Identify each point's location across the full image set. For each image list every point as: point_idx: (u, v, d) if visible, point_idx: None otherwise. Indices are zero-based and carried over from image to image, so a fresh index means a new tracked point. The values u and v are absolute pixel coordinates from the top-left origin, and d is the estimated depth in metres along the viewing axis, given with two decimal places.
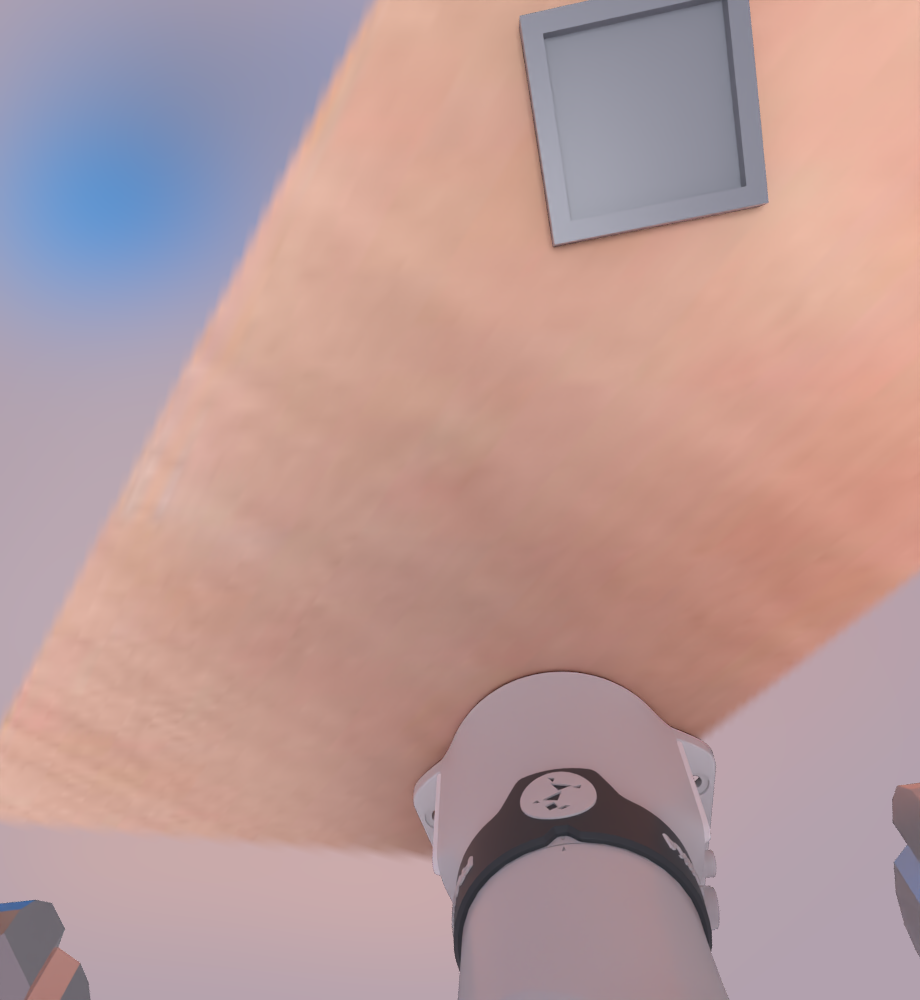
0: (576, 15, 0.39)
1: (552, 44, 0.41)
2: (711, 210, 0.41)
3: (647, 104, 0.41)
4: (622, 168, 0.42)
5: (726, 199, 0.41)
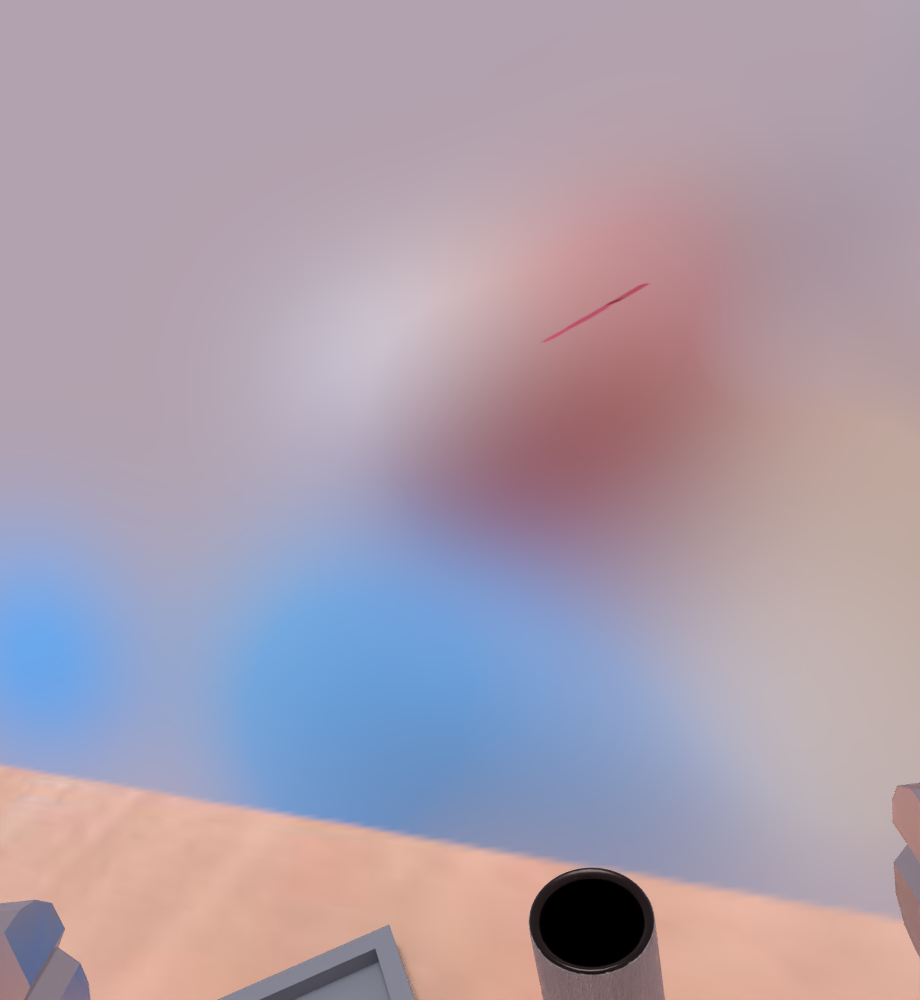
0: (393, 972, 0.38)
1: (374, 971, 0.39)
2: None
3: None
4: None
5: None
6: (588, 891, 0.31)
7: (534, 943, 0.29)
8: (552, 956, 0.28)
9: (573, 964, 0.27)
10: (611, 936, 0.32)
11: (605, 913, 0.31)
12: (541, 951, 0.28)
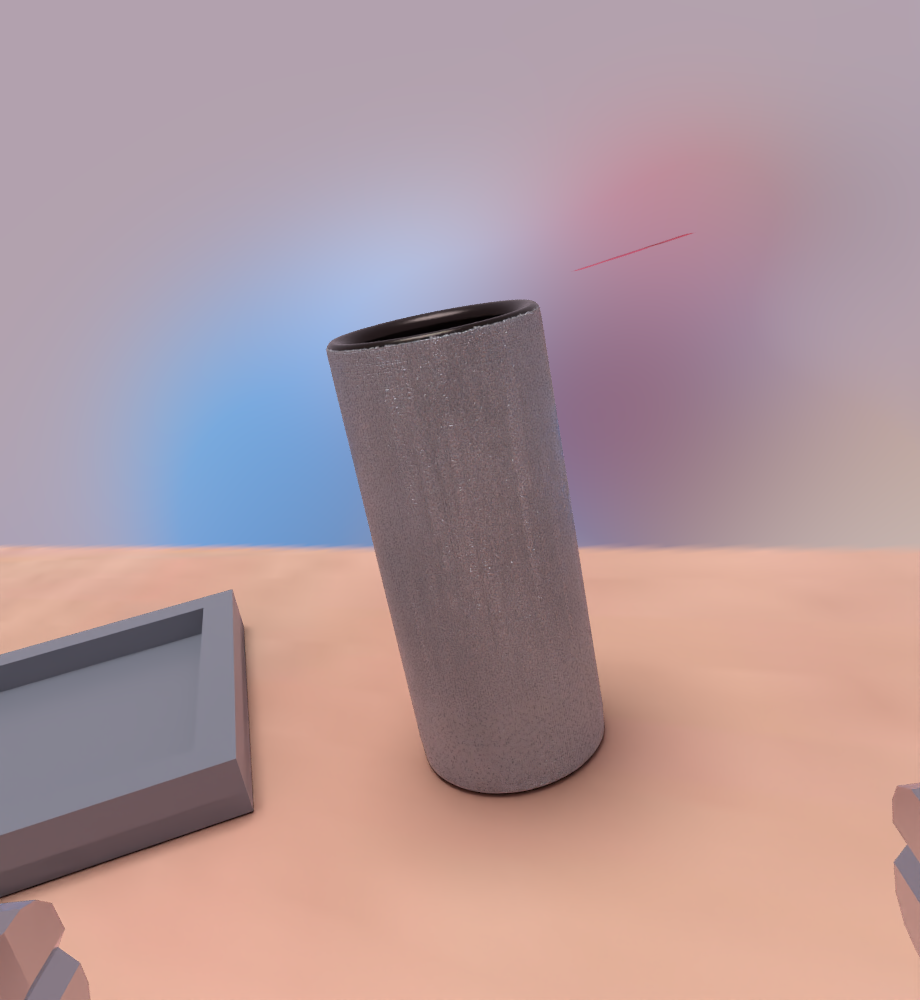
0: (216, 623, 0.26)
1: (200, 638, 0.27)
2: None
3: (64, 741, 0.23)
4: None
5: None
6: None
7: (327, 350, 0.16)
8: (347, 344, 0.16)
9: None
10: None
11: None
12: (332, 348, 0.16)
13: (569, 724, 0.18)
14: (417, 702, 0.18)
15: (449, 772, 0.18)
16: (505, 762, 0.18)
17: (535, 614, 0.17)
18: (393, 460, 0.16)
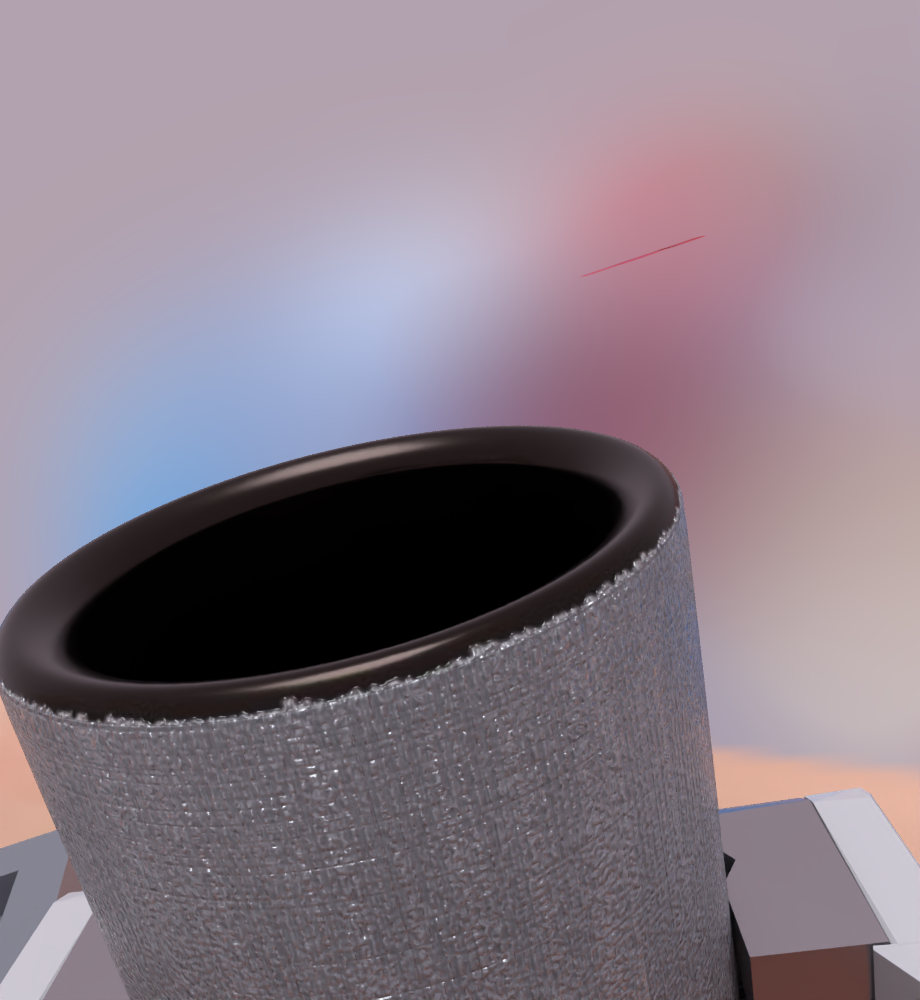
0: (22, 925, 0.15)
1: None
2: None
3: None
4: None
5: None
6: (413, 528, 0.07)
7: None
8: (21, 649, 0.04)
9: (103, 675, 0.04)
10: None
11: None
12: None
13: None
14: None
15: None
16: None
17: None
18: None
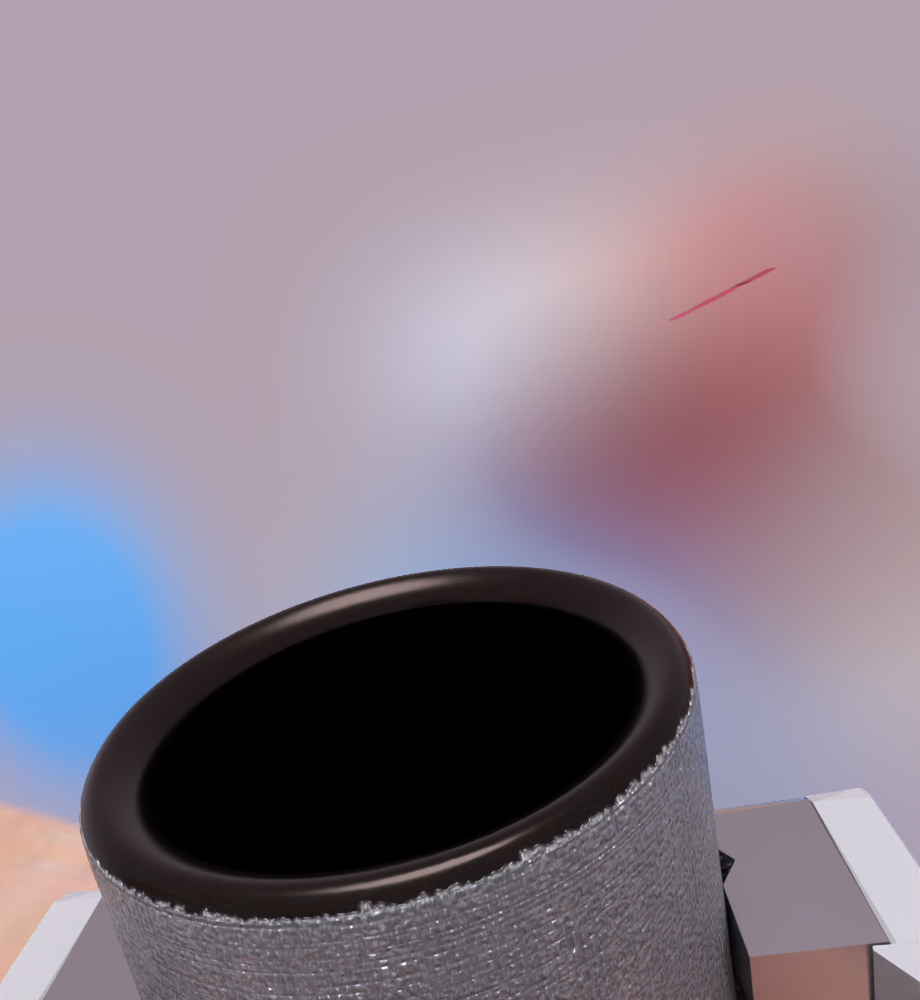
0: None
1: None
2: None
3: None
4: None
5: None
6: (441, 658, 0.08)
7: None
8: (112, 826, 0.05)
9: (193, 863, 0.04)
10: None
11: (511, 755, 0.08)
12: (83, 811, 0.05)
13: None
14: None
15: None
16: None
17: None
18: None
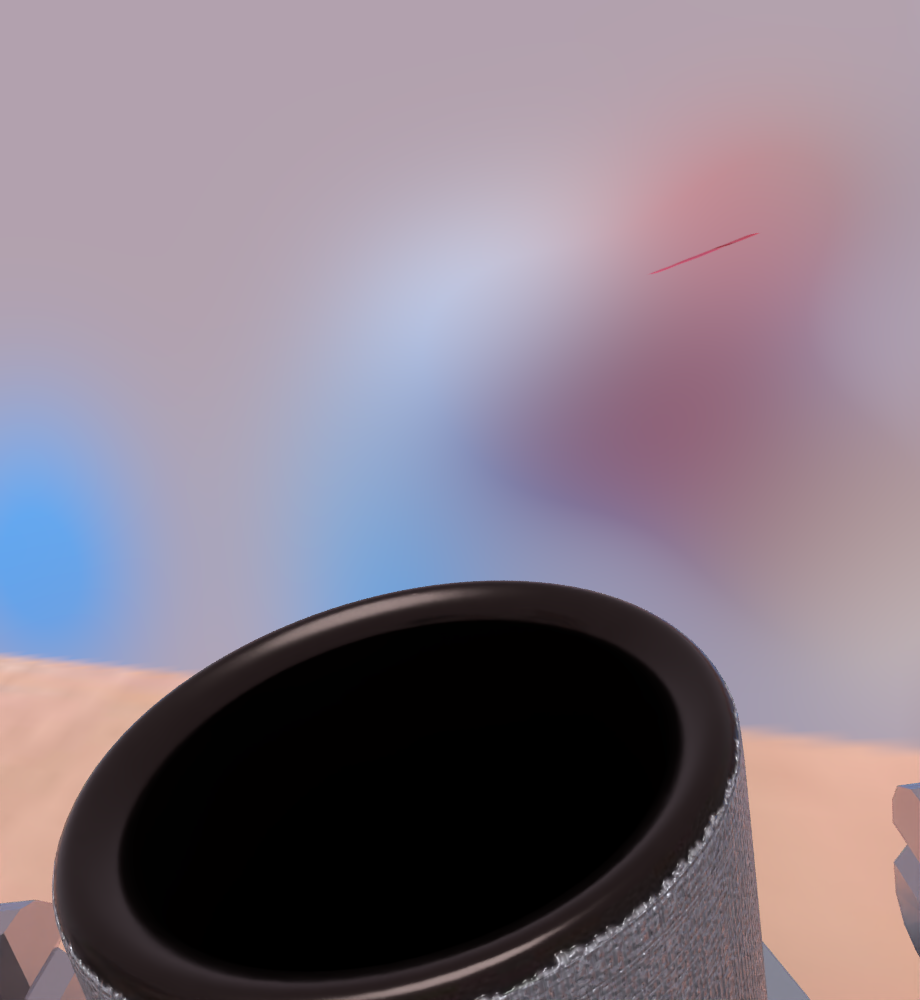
0: None
1: None
2: None
3: None
4: None
5: None
6: (449, 678, 0.07)
7: (62, 842, 0.05)
8: (87, 906, 0.04)
9: (178, 956, 0.04)
10: (553, 882, 0.08)
11: (524, 780, 0.08)
12: (56, 878, 0.05)
13: None
14: None
15: None
16: None
17: None
18: None
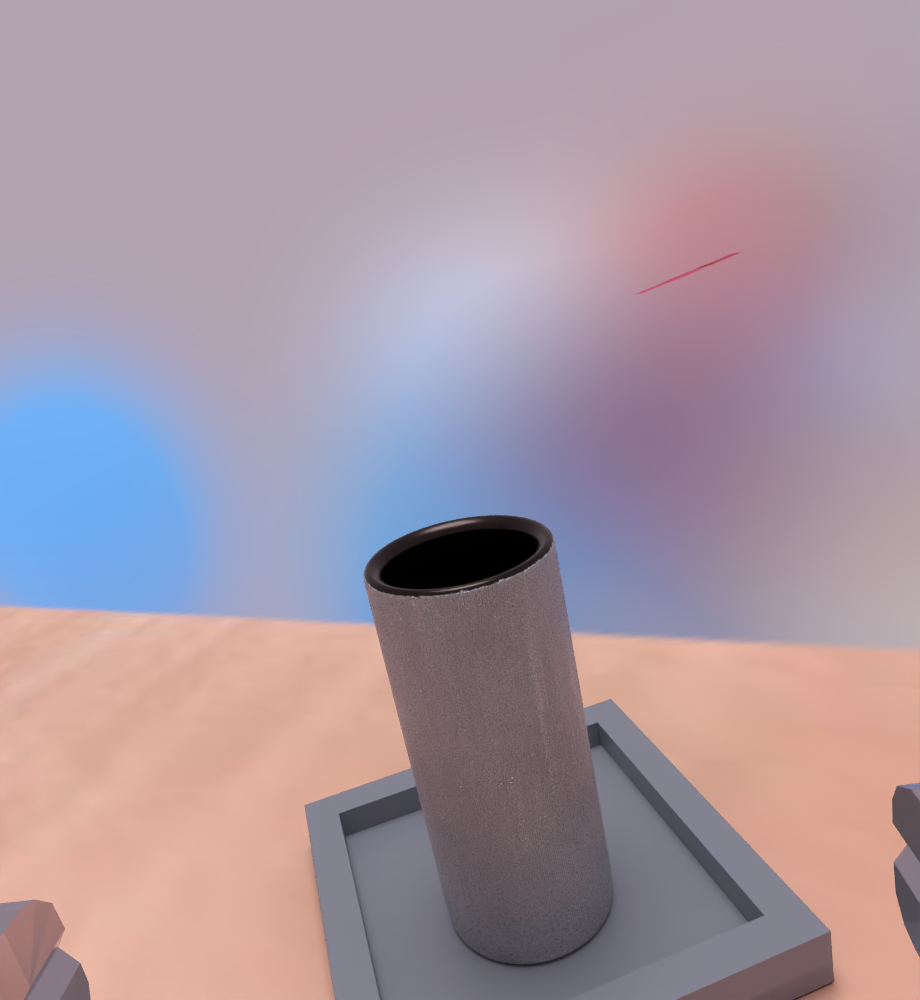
0: (634, 744, 0.26)
1: (598, 755, 0.27)
2: None
3: None
4: (433, 879, 0.23)
5: None
6: (471, 551, 0.21)
7: (365, 581, 0.18)
8: (385, 584, 0.18)
9: (413, 588, 0.17)
10: None
11: None
12: (371, 584, 0.18)
13: (582, 902, 0.20)
14: (444, 878, 0.20)
15: (473, 942, 0.20)
16: (525, 939, 0.19)
17: (552, 812, 0.19)
18: (426, 686, 0.18)
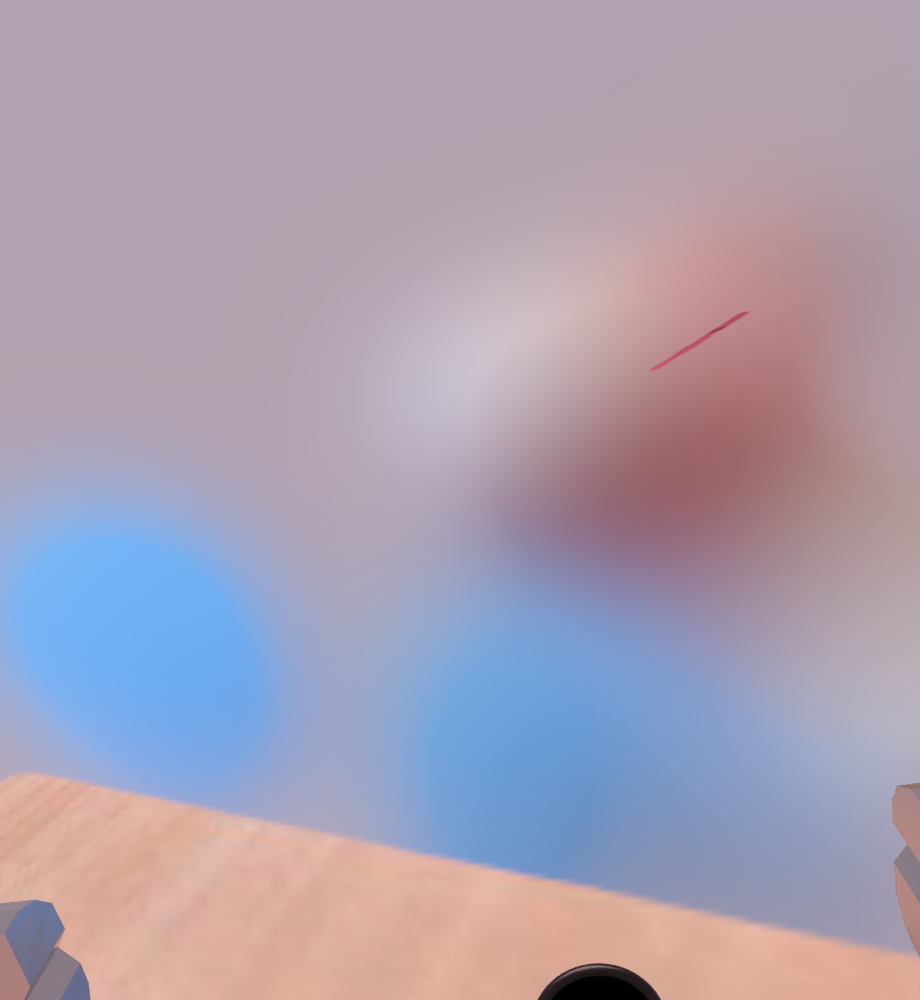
0: None
1: None
2: None
3: None
4: None
5: None
6: (598, 990, 0.28)
7: None
8: None
9: None
10: None
11: None
12: None
13: None
14: None
15: None
16: None
17: None
18: None
